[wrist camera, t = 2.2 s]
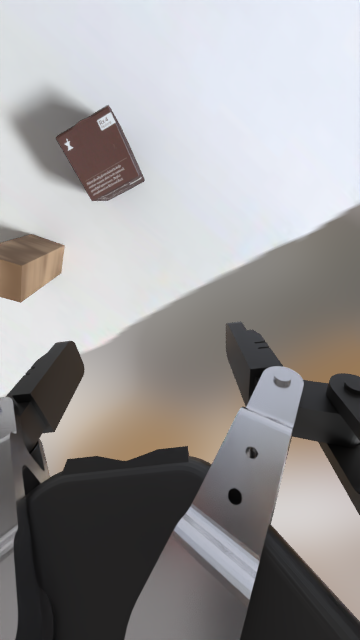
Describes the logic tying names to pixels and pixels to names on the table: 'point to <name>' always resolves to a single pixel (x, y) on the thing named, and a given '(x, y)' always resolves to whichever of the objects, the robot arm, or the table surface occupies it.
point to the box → (101, 155)
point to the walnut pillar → (28, 265)
